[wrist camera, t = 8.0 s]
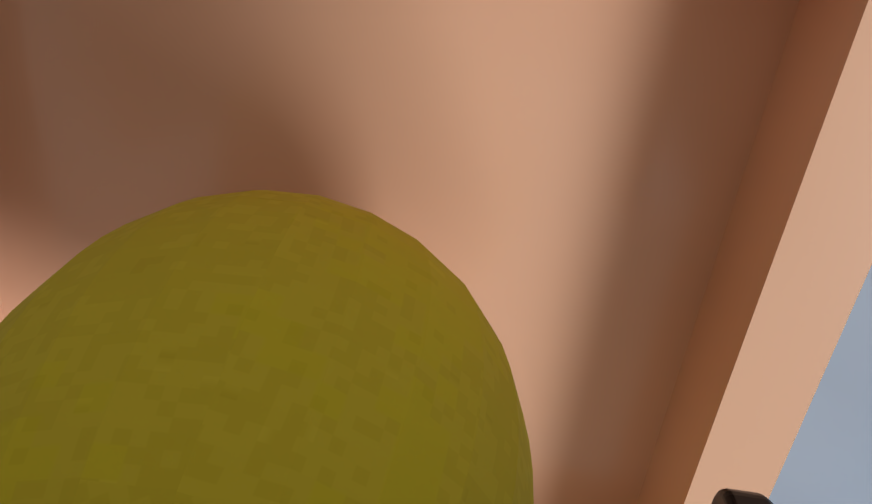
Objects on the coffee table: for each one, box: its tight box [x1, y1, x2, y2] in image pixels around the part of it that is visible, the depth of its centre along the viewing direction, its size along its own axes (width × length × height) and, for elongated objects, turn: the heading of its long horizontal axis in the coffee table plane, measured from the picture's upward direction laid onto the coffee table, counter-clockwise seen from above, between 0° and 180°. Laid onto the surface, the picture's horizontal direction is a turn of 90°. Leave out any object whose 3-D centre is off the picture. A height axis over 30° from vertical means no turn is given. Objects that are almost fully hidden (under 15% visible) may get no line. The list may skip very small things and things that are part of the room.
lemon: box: [0, 190, 534, 504], centre depth 8 cm, size 6×6×8 cm
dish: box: [0, 0, 872, 504], centre depth 11 cm, size 12×12×2 cm
